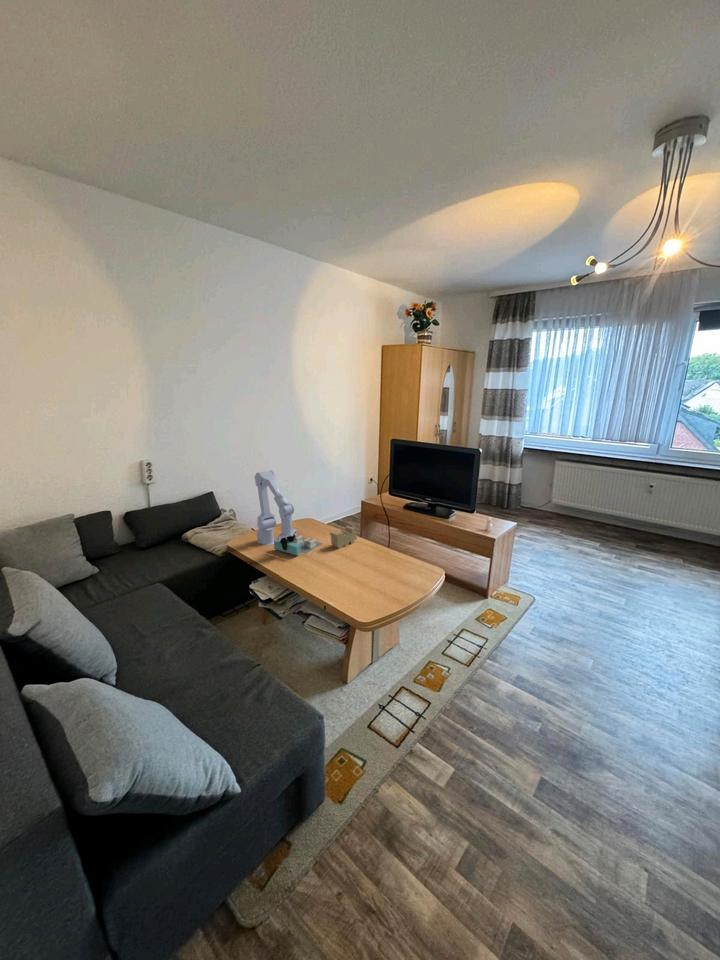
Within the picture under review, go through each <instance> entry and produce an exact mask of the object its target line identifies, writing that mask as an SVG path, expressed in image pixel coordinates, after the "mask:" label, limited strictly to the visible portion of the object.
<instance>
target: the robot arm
mask: <svg viewBox="0 0 720 960" xmlns="http://www.w3.org/2000/svg"><path fill="white" fill-rule="evenodd" d="M254 481H255V486H256V487H257V492H258V500H259V506H260V514H259V516H258V517H257V522H256V523H257V524H256V525H257V528H258V529H257V531H256V537H257V539H256V540H257V541H256V543H257V544H261V545H265V546H268V547H269V546H271V545H274V540H275V539H274V537H275V536H274V535H275V534H274V529H275V527H276V526H277V520H276V517H275V514H273V513H272V512H271V508H270V500H269V494H268V489H270V491H271V493H272V494H273V495H274V498H273V500H274V501H275V503H276V505H277V507H278V513H279V517H280V521H281V533H280V534H279V535H277V536H276V539H277V541H280V542H281V544H282V547H283V550H287V542H288V541H289V542H293V541H294V538H295V537H296V536H295V534H297V533H298V529H296V528H293V519H292V518H293V516H292V515H293V514H294V512H295V508H294V506H293V504H292V503H290V502H288V500H287V498H286V496H285V495H284V493H281V492H280V489H279V486H278V483H277V481H276V474H275V472H274V471H273V470H272V469H270V470H267V471H266V470H265V471H260V472H259V471H258V472H256V473H255V475H254Z"/></svg>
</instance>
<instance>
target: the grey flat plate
mask: <svg viewBox="0 0 720 960" xmlns="http://www.w3.org/2000/svg"><path fill="white" fill-rule="evenodd" d="M306 539H307V538H305V537H304V538H303V542H302V543H300V545H301V553H302V554H308V553H309V552H311V551H313V550H315V549H316V548H318V547H320V546H321V545H323V543H321V542H318V541H316V546H315V547H313V548H311V549H310V548H307V547H304V540H306Z"/></svg>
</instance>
